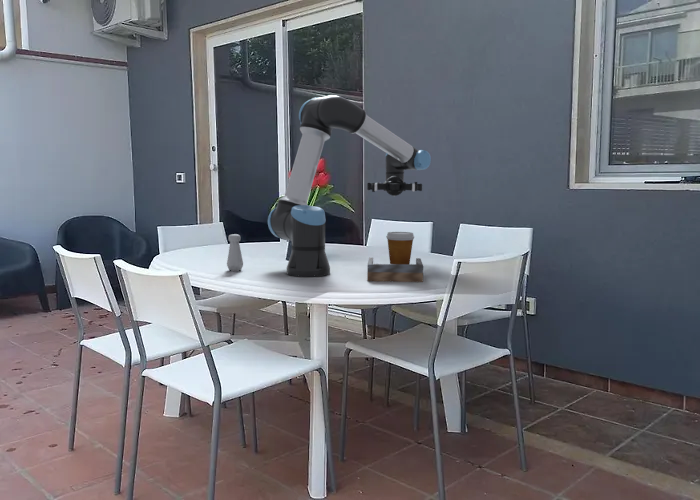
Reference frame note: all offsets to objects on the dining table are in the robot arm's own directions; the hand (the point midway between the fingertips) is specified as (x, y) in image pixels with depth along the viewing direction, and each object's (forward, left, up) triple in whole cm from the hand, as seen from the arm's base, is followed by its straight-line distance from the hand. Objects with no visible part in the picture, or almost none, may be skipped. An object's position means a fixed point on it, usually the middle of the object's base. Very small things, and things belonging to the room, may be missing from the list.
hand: (394, 187), depth 215 cm
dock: (0, -16, -30) cm, 34 cm away
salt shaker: (-57, -7, -30) cm, 65 cm away
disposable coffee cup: (+2, -15, -27) cm, 31 cm away
